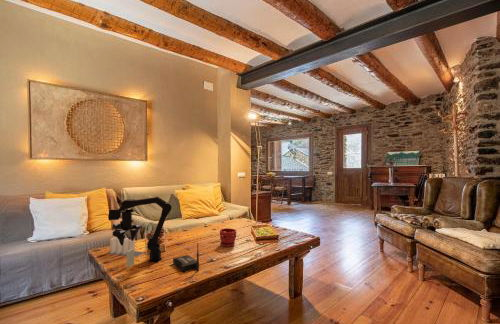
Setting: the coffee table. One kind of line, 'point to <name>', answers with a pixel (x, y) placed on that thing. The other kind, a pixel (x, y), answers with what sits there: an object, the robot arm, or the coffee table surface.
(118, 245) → the domino
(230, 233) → the plant pot
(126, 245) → the domino
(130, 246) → the domino
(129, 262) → the sage domino
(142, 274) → the coffee table surface
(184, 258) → the black wifi router
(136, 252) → the mat
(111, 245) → the end domino
